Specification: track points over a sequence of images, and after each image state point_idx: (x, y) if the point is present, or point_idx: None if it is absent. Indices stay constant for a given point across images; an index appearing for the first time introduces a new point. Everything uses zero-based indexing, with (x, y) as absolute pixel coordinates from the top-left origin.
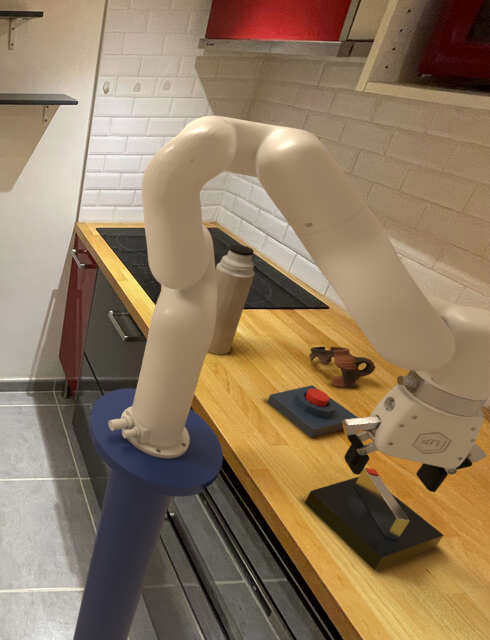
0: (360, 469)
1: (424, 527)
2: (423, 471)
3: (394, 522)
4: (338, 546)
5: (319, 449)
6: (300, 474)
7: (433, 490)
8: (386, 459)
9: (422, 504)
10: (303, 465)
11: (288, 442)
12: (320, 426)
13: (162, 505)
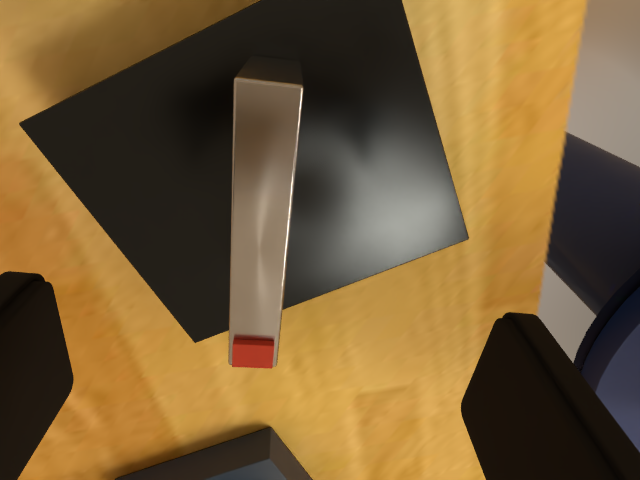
0: (553, 353)
1: (87, 148)
2: (29, 421)
3: (301, 80)
4: (443, 42)
5: (266, 396)
6: (385, 307)
7: (13, 280)
8: (73, 400)
9: (28, 271)
10: (353, 338)
11: (349, 401)
12: (243, 470)
13: (624, 195)
